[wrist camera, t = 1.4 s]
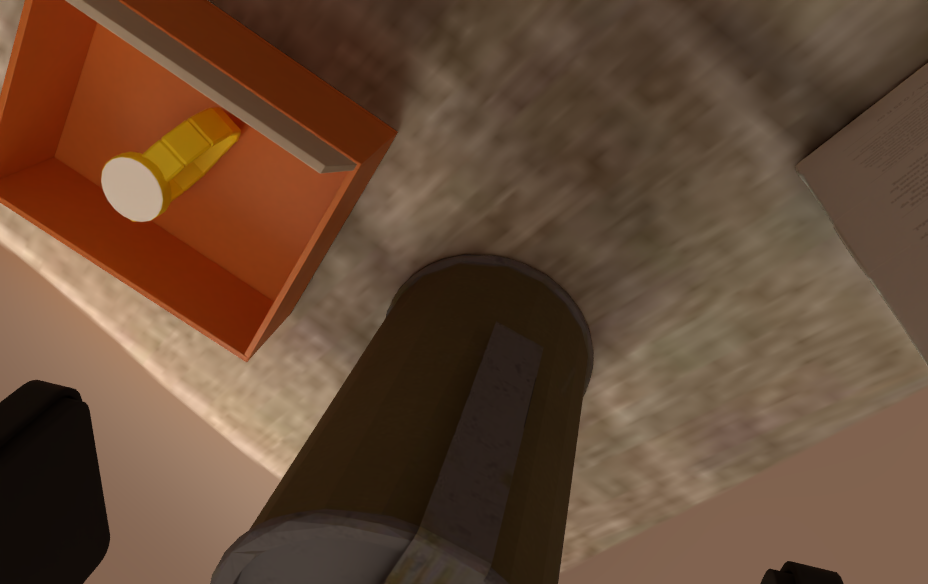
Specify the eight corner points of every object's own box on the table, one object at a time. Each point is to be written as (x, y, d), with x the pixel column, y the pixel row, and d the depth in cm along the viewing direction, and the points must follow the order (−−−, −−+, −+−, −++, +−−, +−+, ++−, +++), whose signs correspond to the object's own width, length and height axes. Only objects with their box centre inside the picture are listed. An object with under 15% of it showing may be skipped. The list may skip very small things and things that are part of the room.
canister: (528, 467, 39) (432, 910, 22) (355, 372, 39) (117, 745, 21) (641, 316, 34) (635, 744, 16) (442, 205, 33) (218, 520, 16)
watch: (227, 81, 33) (148, 112, 27) (271, 130, 33) (201, 169, 28) (153, 162, 35) (68, 204, 30) (195, 206, 36) (119, 254, 31)
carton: (52, 156, 37) (-24, 187, 33) (120, -61, 31) (39, -57, 27) (290, 313, 38) (246, 362, 34) (398, 132, 32) (361, 163, 28)
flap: (-95, -109, 21) (-91, -118, 21) (26, -53, 26) (29, -60, 26) (320, 173, 22) (325, 165, 22) (353, 171, 28) (357, 164, 28)
